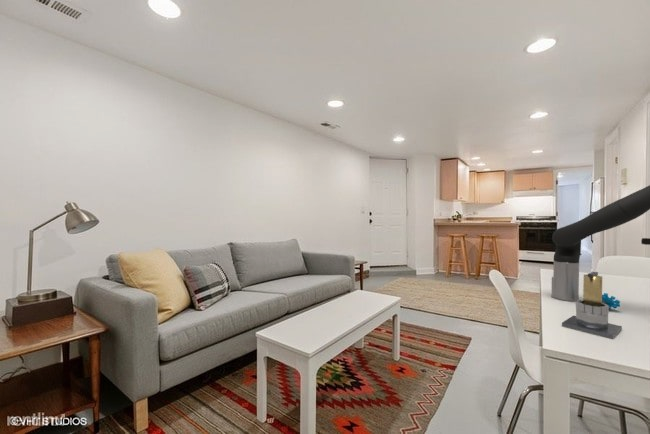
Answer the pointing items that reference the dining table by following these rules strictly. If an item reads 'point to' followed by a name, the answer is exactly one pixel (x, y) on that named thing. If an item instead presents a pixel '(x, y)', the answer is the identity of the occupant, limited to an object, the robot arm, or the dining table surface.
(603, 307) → the pipe socket
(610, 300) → the gear
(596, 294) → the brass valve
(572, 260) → the robot arm
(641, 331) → the dining table surface
